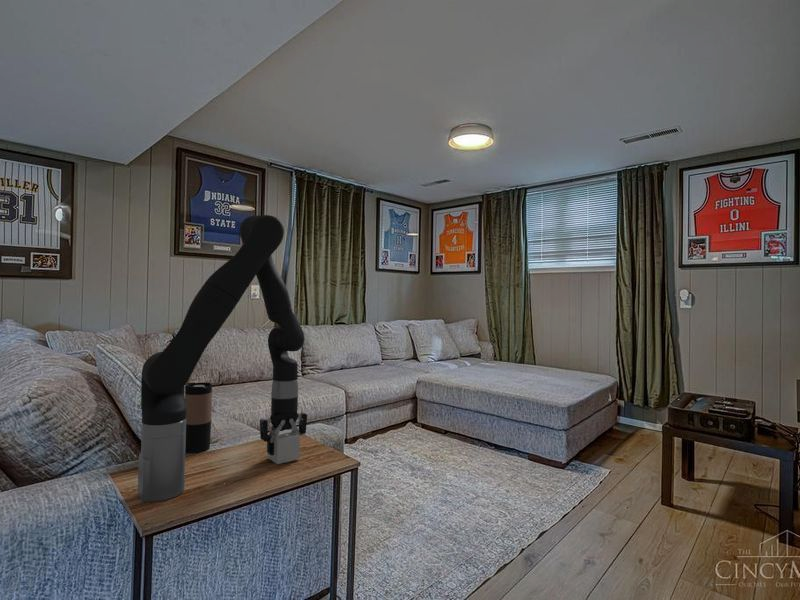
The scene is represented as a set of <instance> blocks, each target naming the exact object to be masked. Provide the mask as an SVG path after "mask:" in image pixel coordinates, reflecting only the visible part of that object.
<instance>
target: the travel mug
mask: <svg viewBox="0 0 800 600" xmlns="http://www.w3.org/2000/svg"><path fill="white" fill-rule="evenodd" d="M212 394H213V384H212V383H211V382H192V383H186V384H185V385H184V397H185V404H186V410H187V411H186V445H185V454H200V453H204V452H207V451H209V450H210V446H211V431H212V409H213V408H212V404H213V403H212V402H213V401H212V400H213V399H212V397H213V395H212Z"/></svg>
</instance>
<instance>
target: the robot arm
mask: <svg viewBox="0 0 800 600" xmlns="http://www.w3.org/2000/svg"><path fill="white" fill-rule="evenodd" d="M284 234H285V228H284V225H283V223H282V221H281V220H280V219H279V218H278V217H276V216H274V215H270V214H269V215H268V214H260V215H259V214H257V215H251V216H250V215H249V216H247V217H245V218H244V219H243V220H242V222H241V223H240V226H239V237H240V239H241V241H242V242H241V243H242V245H241V246H240V248H239V250H238V251H237V252H236V253H235V254H234V255H233V256H232V257H231V258H230V259H229V260H227V261H226V262H225V263H224V264H222V265H221V266H220V267H219V268H218V269H216V270H215V271H214V272H213V273H212V274H211V275H210V276H209V277H208V278H207V279H206V281H205V282H204V284H203V285H202V286H201V288H200V289H199V291H198V292H197V293H196V295H195V296H194V298H193V300H192V302H191V303H190V305H189V308H188V310H187V312H186V314H185V316H184V319H183V322H182V324H181V325H180V327H179V330H178V331H177V333H176V334H175V336H174V337H173V338H172V340H171V341H170V342H169V343H168V345H167V346H166V347H165V348H164V349H163V350H162V351H159V352H156V353H154V354H151V356H149V357H148V358H147V359H146V361H145V362H144V364H143V365H142V370H141V379H140V381H141V384H140V386H141V387H140V389H141V391H140V397H141V398H140V399H141V400H140V409H141V439H140V441H141V443H140V447H141V448H140V452H139V454H138V470H137V474H138V475H137V495H138V497H139V499H140V501H141V502H142V503H147V502H159V501H167V500H171V499H173V498H175V497H178V496H179V495H181V494H182V493H183V492H184V491H185V478H186V477H185V474H186V452H185V445H186V411H187V410H186V404H185V386H186V385H187V384H188V382H189V380H190V378H191V376H192V375H193V372H194V370H195V369H196V366H197V365H198V363H199V360H200V359H201V357H202V356H203V354H204V351H205V350H206V349H207V347H208V345H209V344H210V342H211V341H212V340H213V338H214V337H215V335H217V333H219V331H220V329H221V327H222V326H223V325H224V323H225V322H226V321H227V319H228V318H229V316H230V315H231V314H232V313H233V310H234V309H235V308H236V306H237V304H238V303H239V302H240V300H241V298H242V297H243V296H244V293H246V290H247V289H248V288H249V286H250V285H251V283H252V282H253V280H254V279H255V277H256V279H257V282H258V285H259V287H260V292H261V295H262V297H263V302H264V307H265V310H266V314H267V317H268V320H269V321H270V322H272V323H274V324H277V325H278V326H275V327H273V328H272V329H271V330H270V332H269V334H268V337H267V346H268V350H269V355H270V359H271V363H272V384H271V392H270V393H271V394H270V395H271V399H270V404H271V406H270V412H271V413H270V414H271V415H270V417H269V418H266V419H264V418H261V419H260V420H259V432H260V440H262V441H264V442H266V453H267V452H268V453H269V454H270V455H271V456H272V455H274V438H276V436H277V435H278V434H279V432H282V431H287V430H290V431H291V432H294V433H295V434H298V435H300V436H302V435H304V434H306V433H307V422H308V414H307V413H305V412H302V411H301V412H300V413H298V409H299V407H298V405H299V403H298V402H299V383H298V371H299V366H298V365H299V364H298V362H297V360H296V359H293V358H291V357H290V356H289V353H288V352H298V351H299V350H301V349H302V347H303V346H304V343H305V334H304V330H303V327H302V326H301V324H300V321H299V320H298V318H297V316H296V315H295V313H294V311H293V308H292V303H291V298H290V295H289V291H288V288H287V286H286V284H285V281H284V280H283V279H282V276H281V275H280V273H279V271H278V270H277V269H278V268H277V267H276V264H275V263H274V259H273V257H272V255H273V254H274V253H275V251H276V250H278V248H279V246H280V245H281V244H282V242H283V239H284V236H285V235H284ZM297 421H298V426H297V425H296V422H297ZM270 424H271V427H270ZM269 427H270V428H269ZM268 429H270V430H268ZM268 434H269V435H268Z"/></svg>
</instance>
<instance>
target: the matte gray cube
mask: <svg viewBox="0 0 800 600" xmlns="http://www.w3.org/2000/svg"><path fill="white" fill-rule="evenodd" d="M268 435H269V433H268ZM300 439H301V435H298V434H295V433H294V432H291V430H284V431H280V432H279V434H278V435H277V436H276V438H274V455H272V456H271V455H270V454H269V453H268V452H267V451H266V453H267V454H266V457H267V459H268V460H270V461H272V463H274V464H276V465H280V464H283V463H289V462H292V461H297V460H300V445H301V444H300V441H301V440H300Z"/></svg>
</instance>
